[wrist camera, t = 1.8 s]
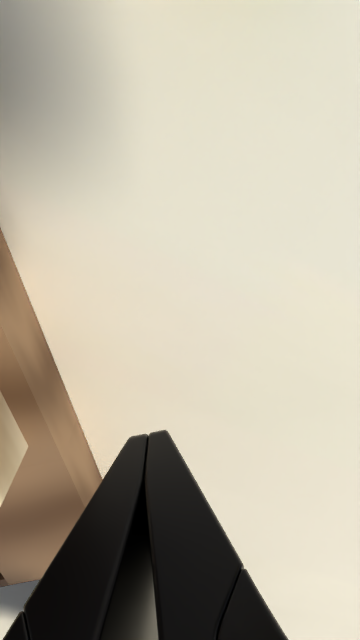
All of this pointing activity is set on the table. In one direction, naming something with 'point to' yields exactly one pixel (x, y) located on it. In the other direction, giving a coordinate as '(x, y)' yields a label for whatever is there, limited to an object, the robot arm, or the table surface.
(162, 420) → the table surface
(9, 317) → the board
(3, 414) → the block
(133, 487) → the robot arm
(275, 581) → the table surface
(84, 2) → the table surface
